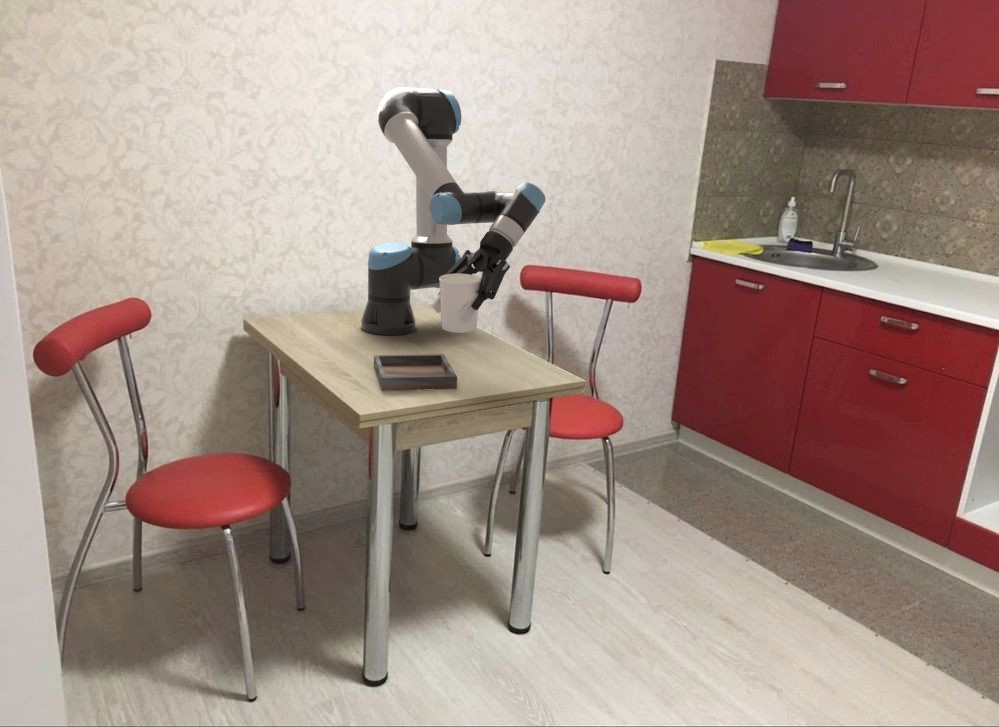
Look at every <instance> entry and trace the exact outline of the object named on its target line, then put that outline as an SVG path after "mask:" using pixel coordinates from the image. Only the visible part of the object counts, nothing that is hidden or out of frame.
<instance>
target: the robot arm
mask: <svg viewBox="0 0 999 727" xmlns="http://www.w3.org/2000/svg"><path fill="white" fill-rule="evenodd" d="M377 122H378V126H379V129H380V130H381V132H382V134H383V136H384V137H385V138H386V140H387V141H388V142H390V143H391V144H394V145H395V146H396V149H397V150H398V152H399V153H400V154H401V156H402V158H403V159H404V161H405V162H406V163H407V165H408V166H409V168H410V169H411V170H412V172H413V173H414V175H415V196H416V197H415V201H416V202H415V204H416V205H415V206H416V208H415V209H416V210H415V211H416V214H415V215H416V221H415V222H416V234H415V236H414V237H413V238H412V239H411V240H410V242H411V245H410V244H409V243H407V242H406V243H405V242H386V243H383V244H378V245H375V246H374V247H372V248H371V249H370V251H369V253H368V261H367V267H368V269H367V275H368V276H367V278H368V279H367V302H366V305H365V309H364V312H363V313H362V317H361V320H360V322H361V324H360V328H361V329H362V331H364V332H367V333H370V334H374V335H380V336H381V335H383V336H399V335H400V336H401V335H405V334H406V335H407V334H410V333H412V332H414V331H416V327H417V326H416V325H417V324H416V322H417V321H416V318H415V315H414V314H415V313H414V311H413V308H412V304H411V291H413V290H424V289H432V288H435V289H440V282H439V277H440V276H443V275H446V274H470V275H476V274H477V273H481V272H482V273H481V277H480V278H481V282H480V287H479V290H478V291H477V293H478V294H479V295H478V294H477V293H474V295H473V296H472V297H471V299H470V300H469V302H468V303H467V305H466V306H465V308H464V309H463V310H462V312H461V313H460V315H459V316H460V317H461V318H462V319H463V320H464V321H465V322H467V323H468V321H469V320H470V318H471V317H472V315H473V314H474V312H475V311H476V310H478V311H479V309H480V307H481V306H482V305H483V304H484V302H485V301H486V300H492V301H493V300H495V298H496V295H497V293H498V291H499V288H500V286H501V284H502V281H503V279H504V277H505V274H506V273H507V272H508V271H509V269H510V268H511V265H510V264H509V263H508V261H507V259H508V258H509V256H510V255H511V254H512V252H513V250H514V249H513V248H515V247H516V246H517V244H518V243H519V241H520V240H521V238H522V237H523V236H524V234H525V233H526V231H527V230H528V229H529V227H530V226H532V223H533V221H534V220H535V219H536V217H537V216H538V215H539V214H540V212H541V209H542V208H543V206H544V205H545V203H546V196H545V193H544V192H543V191H542V189H541V188H540V187H538V186H537V185H536V184H533V183H531V182H527V181H525V182H522V183H520V185H519V186H518V187H516V190H515V191H508V192H505V191H503V192H502V191H495V190H491V191H482V192H479V191H477V192H476V191H475V192H465V191H464V190H463V189H462V188H461V187H460V185H459V184H458V183H457V181H456V179H454V178H455V177H453V175H452V174H451V171H449V169H448V146H449V145H451V143H452V142H453V135H455V134H456V133H457V132H458V131H459V130H460V126H461V124H462V110H461V106H460V103H459V101H458V99H457V98H456V96H455V95H454V94H453V93H452V92H450V91H449V90H443V89H439V88H438V89H437V88H419V87H418V88H416V87H406V86H403V87H402V86H401V87H396V88H394V89H392V90H390V91H388V92H387V93H386V94H385V95H384V97H383V98H382V99H381V101H380V103H379V106H378V109H377ZM490 223H492V224H491V225H490V226H489V229H488V231H486V233H485V234H484V235H483V237H482V239H481V240H480V242H479V248H478V250H476V251H475V252H472V251H470V250H469V249H467V250H465V251H464V253H463V254H462V256H461V255H460V252H459V251H460V250H458V248H457V247H456V246H455V245H453V239H452V238H451V237H450V236H449V235H448V226H454V225H467V224H470V225H471V224H490ZM431 307H432V308H433V310H435V311H436V313H438V314H441V306H440V291H439V293H438V295H437V297H436V298H435V299H434V301H433V303H432V304H431Z"/></svg>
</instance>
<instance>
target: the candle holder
mask: <svg viewBox="0 0 999 727" xmlns="http://www.w3.org/2000/svg"><path fill="white" fill-rule="evenodd" d="M439 282H440V288H439V292H440V306H441V312H440V321H441V322H440V324H441V328H442V330H444V331H446V332H450V333H457V334H458V333H459V334H464V333H465V334H466V333H471V332H474V331H475V330H477V327H478V319H479V316H478V315H479V309H478V310H476V311H475V312H474V314H473V315H472V317H471V318H470V320H469V321H468V323H467V322H465V321H464V320H463V319H462V318H461V317H460V316H459V315H460V313H461V312H462V310H463V309H464V308H465V306H466V305H467V303H468V302H469V300H470V299H471V297H472V296H473V295H474V293H477V291H478V290H479V287H480V282H481V277H480V276H478V275H476V274H472V275H470V274H446V275H443V276H440V277H439ZM477 294H478V293H477ZM478 295H479V294H478Z"/></svg>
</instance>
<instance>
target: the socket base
mask: <svg viewBox="0 0 999 727" xmlns="http://www.w3.org/2000/svg"><path fill="white" fill-rule="evenodd" d="M373 368H374V370H375V375H376V377H377V381H378V384H379V387H380V390H381V391H382V390H383V391H384V390H385V391H386V390H392V391H418V390H417V389H435V390H457V387H458V386H457V384H458V376H457V374H456V373H455V371H454V369H453V367H452V366H451V364H450V361H449V360H448V359H447V357H446V356H445V354H444V353H441V354H440V353H439V354H438V353H435V354H433V353H432V354H374V355H373ZM383 391H382V392H383ZM385 391H384V392H385Z"/></svg>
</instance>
